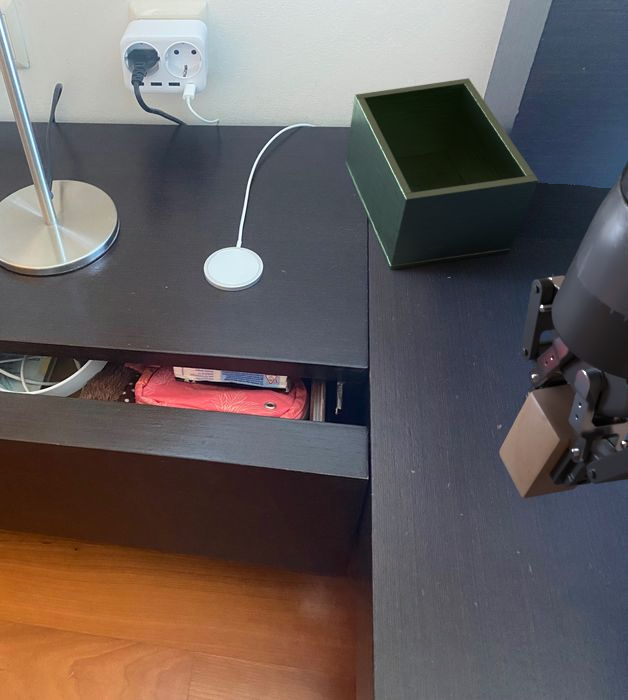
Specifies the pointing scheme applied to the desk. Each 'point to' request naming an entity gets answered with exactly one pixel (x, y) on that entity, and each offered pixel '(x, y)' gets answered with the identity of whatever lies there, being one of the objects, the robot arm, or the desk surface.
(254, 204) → the desk surface
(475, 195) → the waste bin
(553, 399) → the wooden block
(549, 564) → the desk surface
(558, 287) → the robot arm
